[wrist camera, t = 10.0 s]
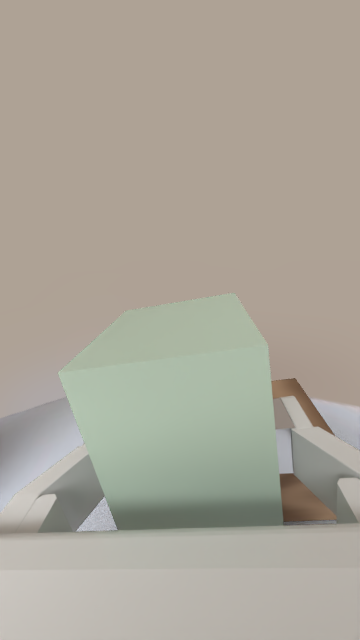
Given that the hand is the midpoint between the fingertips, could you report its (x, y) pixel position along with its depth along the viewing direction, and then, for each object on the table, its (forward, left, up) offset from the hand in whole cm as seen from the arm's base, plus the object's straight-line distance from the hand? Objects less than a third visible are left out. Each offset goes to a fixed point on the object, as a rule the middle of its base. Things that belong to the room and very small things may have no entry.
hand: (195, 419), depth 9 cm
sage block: (0, -1, -7) cm, 7 cm away
